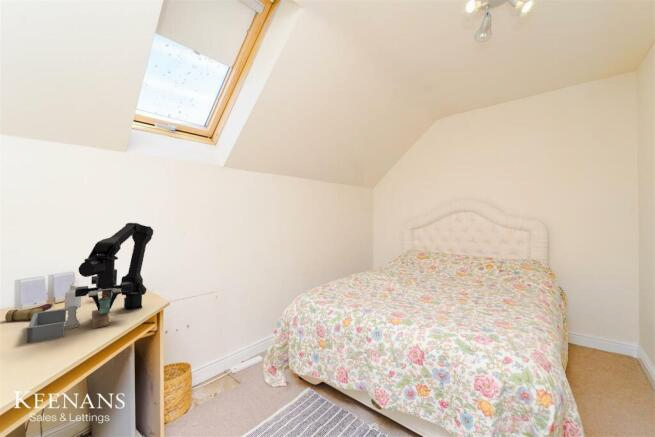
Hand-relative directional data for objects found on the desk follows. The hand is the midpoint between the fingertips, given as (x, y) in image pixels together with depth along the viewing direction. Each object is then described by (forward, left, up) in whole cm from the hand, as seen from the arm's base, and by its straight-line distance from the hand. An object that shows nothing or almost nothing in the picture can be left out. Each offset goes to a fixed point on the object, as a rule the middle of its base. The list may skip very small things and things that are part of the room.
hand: (104, 309), depth 119 cm
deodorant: (-4, -37, -5) cm, 37 cm away
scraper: (+1, 0, -5) cm, 5 cm away
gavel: (+22, -27, -6) cm, 35 cm away
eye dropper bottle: (+10, -29, -5) cm, 31 cm away
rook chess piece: (+10, 0, -5) cm, 11 cm away
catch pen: (+16, 0, -5) cm, 17 cm away
